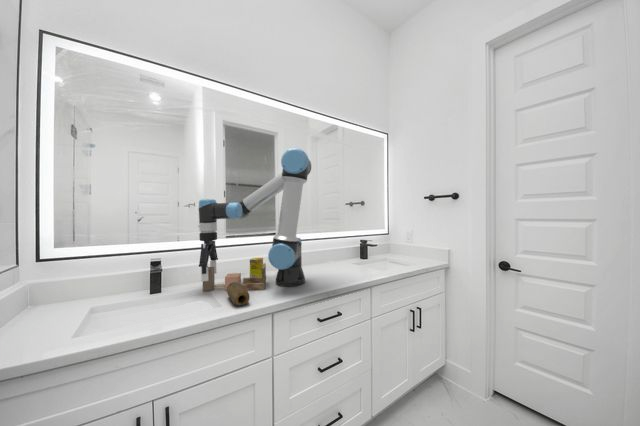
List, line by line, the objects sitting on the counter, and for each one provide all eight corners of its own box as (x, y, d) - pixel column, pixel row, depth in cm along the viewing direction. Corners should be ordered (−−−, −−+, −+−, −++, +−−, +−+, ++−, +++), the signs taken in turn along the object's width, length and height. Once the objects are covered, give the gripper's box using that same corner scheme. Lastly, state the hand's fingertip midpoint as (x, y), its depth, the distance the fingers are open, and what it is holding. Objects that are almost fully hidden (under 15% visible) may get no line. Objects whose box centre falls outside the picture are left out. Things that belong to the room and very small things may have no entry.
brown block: (240, 285, 118) (240, 264, 118) (238, 289, 111) (238, 268, 111) (206, 287, 115) (206, 266, 115) (201, 291, 108) (201, 269, 108)
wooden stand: (265, 282, 122) (265, 263, 122) (264, 289, 111) (264, 268, 111) (243, 284, 120) (243, 264, 120) (239, 291, 109) (239, 269, 109)
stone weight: (223, 298, 100) (223, 282, 100) (240, 294, 104) (240, 279, 104) (234, 309, 88) (234, 291, 88) (252, 304, 92) (252, 287, 92)
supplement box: (260, 279, 128) (260, 259, 128) (249, 279, 128) (249, 259, 128) (263, 276, 134) (263, 257, 134) (252, 277, 134) (252, 257, 134)
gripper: (207, 230, 124) (208, 271, 124) (189, 234, 99) (191, 285, 99) (222, 230, 125) (224, 270, 125) (208, 233, 101) (210, 283, 100)
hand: (209, 277), depth 112 cm, fingers open, 13 cm apart
